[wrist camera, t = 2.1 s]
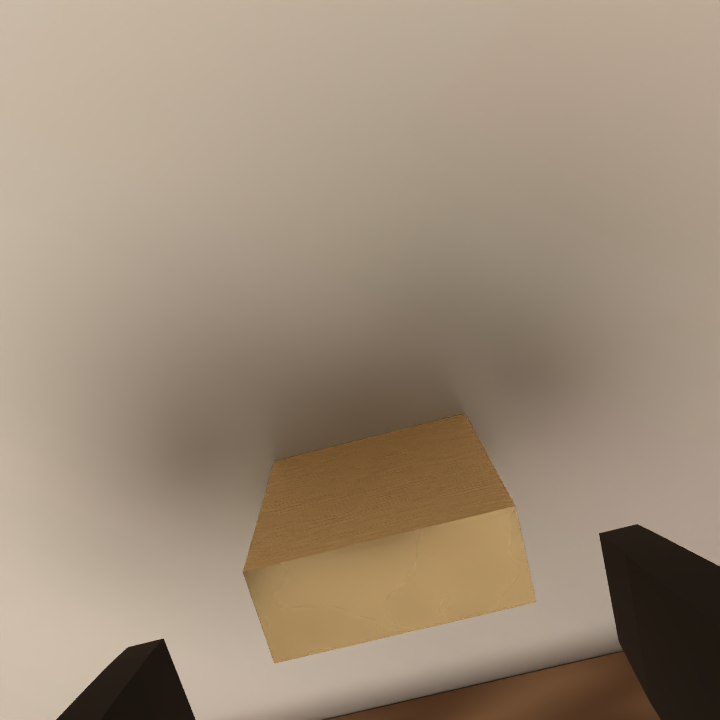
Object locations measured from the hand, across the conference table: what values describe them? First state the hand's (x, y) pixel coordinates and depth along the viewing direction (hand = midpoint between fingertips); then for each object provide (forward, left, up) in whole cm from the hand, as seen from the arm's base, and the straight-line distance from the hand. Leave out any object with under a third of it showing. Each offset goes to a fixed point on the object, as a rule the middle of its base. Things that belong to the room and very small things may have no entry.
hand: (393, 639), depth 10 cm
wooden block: (0, 0, -6) cm, 6 cm away
